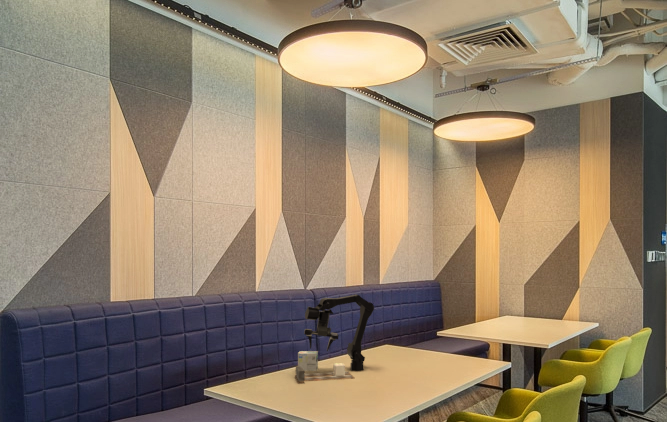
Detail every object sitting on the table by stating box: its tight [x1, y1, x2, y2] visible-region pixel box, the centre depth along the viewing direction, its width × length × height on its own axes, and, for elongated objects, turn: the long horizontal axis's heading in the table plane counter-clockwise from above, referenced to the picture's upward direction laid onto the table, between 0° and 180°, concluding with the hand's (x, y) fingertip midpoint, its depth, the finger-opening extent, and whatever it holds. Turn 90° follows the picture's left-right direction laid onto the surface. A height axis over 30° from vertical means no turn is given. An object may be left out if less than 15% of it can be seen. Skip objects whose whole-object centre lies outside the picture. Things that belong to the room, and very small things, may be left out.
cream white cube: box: [333, 362, 346, 376], centre depth 276 cm, size 5×6×6 cm
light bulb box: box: [297, 350, 319, 372], centre depth 292 cm, size 11×7×11 cm, turn 84°
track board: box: [294, 365, 355, 385], centre depth 275 cm, size 30×14×6 cm, turn 101°
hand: (318, 349), depth 283 cm, fingers open, 9 cm apart
